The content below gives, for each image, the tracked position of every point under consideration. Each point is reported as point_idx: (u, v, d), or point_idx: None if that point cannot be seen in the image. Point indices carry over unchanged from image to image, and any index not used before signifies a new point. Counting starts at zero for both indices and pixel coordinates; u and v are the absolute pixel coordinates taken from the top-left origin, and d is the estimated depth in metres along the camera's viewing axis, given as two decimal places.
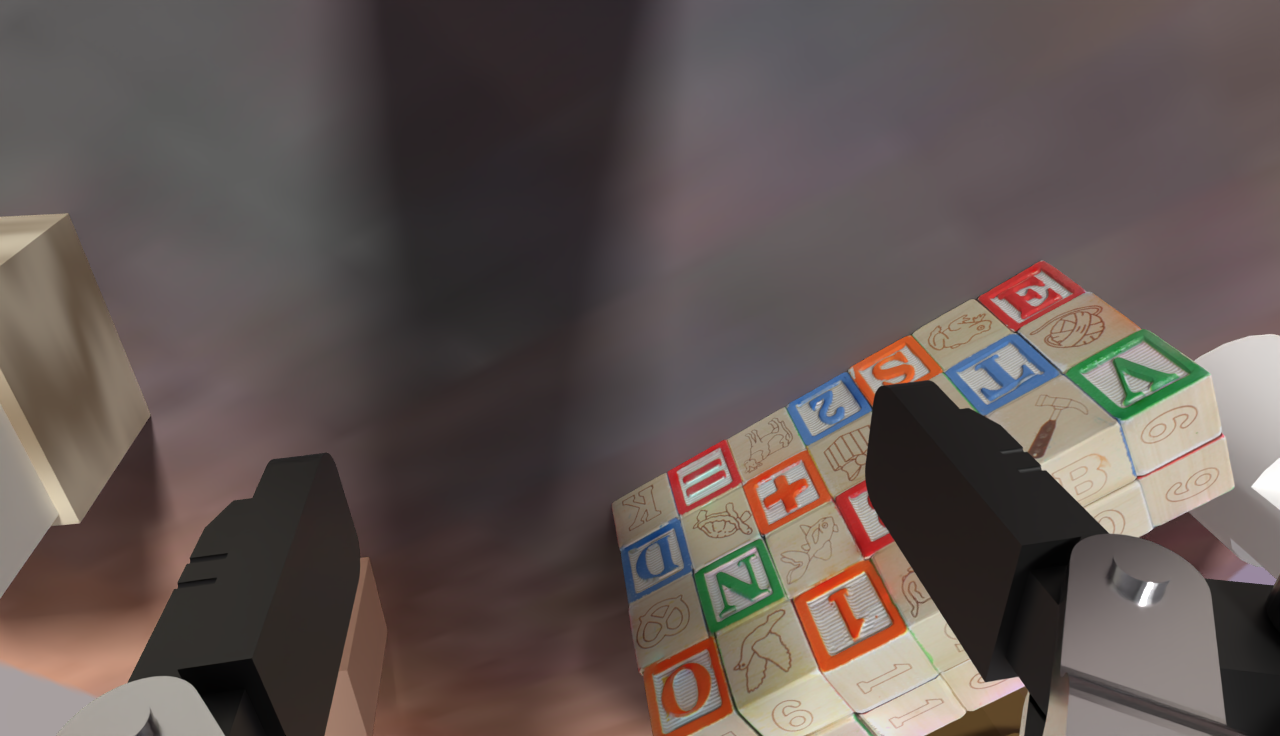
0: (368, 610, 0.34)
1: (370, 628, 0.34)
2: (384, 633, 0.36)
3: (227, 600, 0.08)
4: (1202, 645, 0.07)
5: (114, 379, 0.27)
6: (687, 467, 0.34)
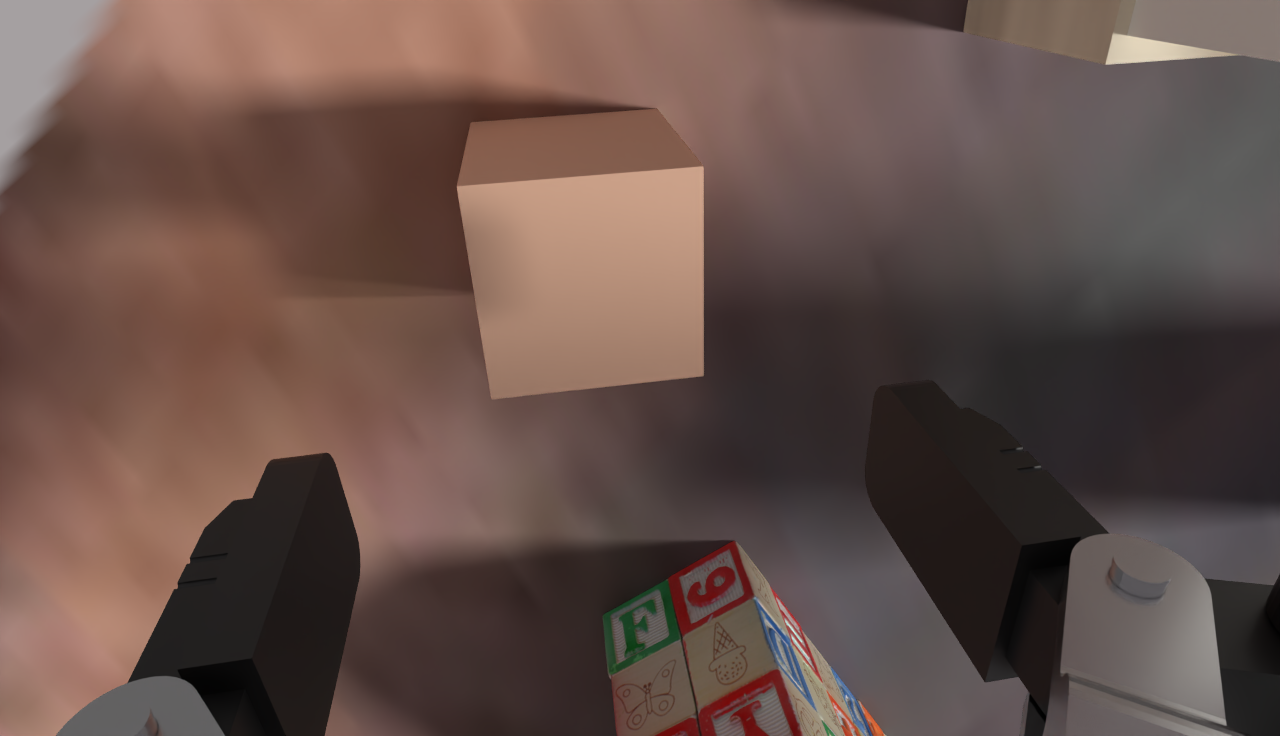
0: None
1: None
2: None
3: (227, 600, 0.08)
4: (1202, 645, 0.07)
5: None
6: (781, 605, 0.31)
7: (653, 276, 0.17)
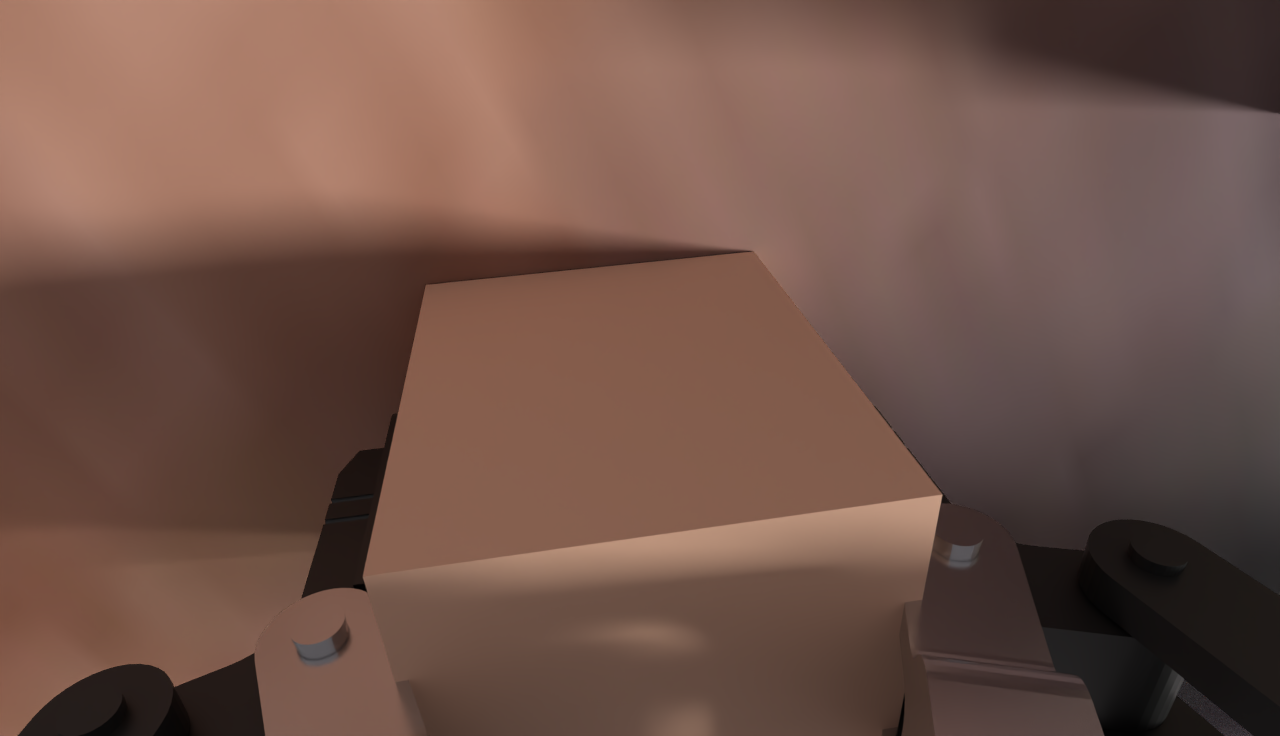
0: None
1: None
2: None
3: None
4: (997, 602, 0.07)
5: None
6: None
7: (804, 687, 0.08)
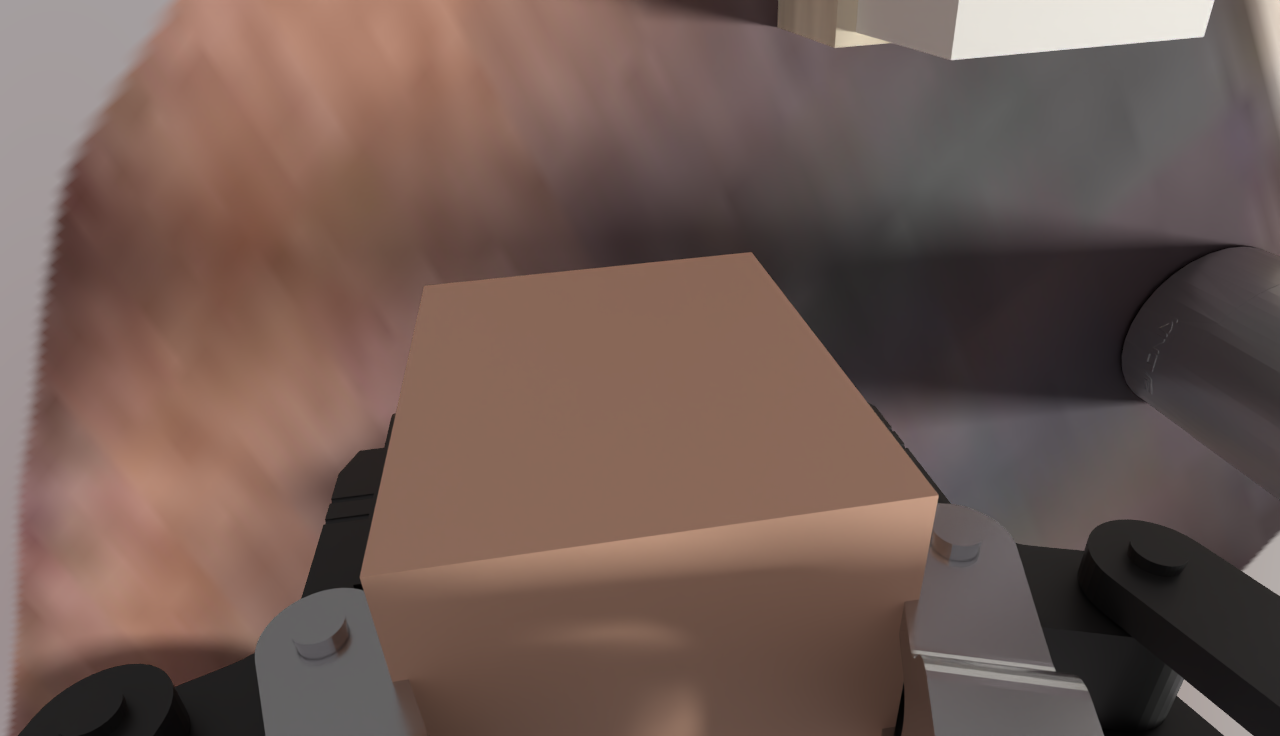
0: None
1: None
2: None
3: None
4: (996, 602, 0.07)
5: None
6: None
7: (801, 687, 0.08)
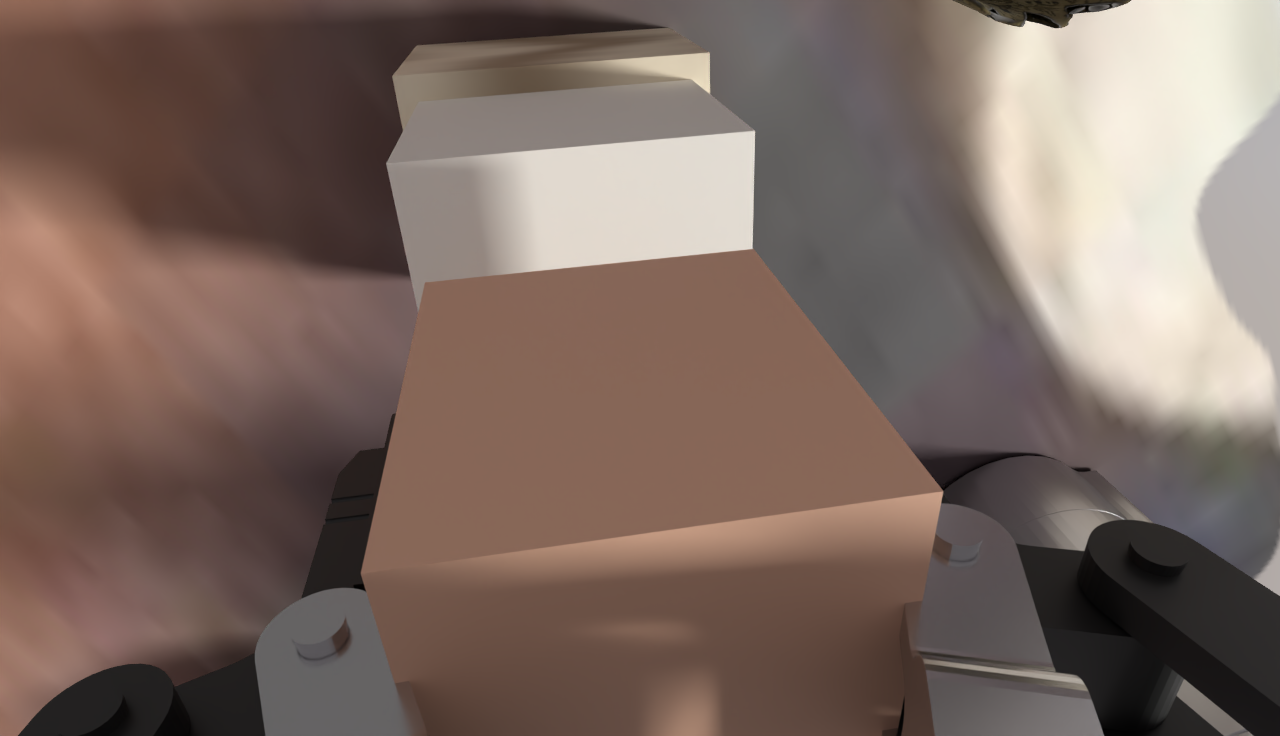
0: None
1: None
2: None
3: None
4: (996, 601, 0.07)
5: None
6: None
7: (805, 685, 0.08)
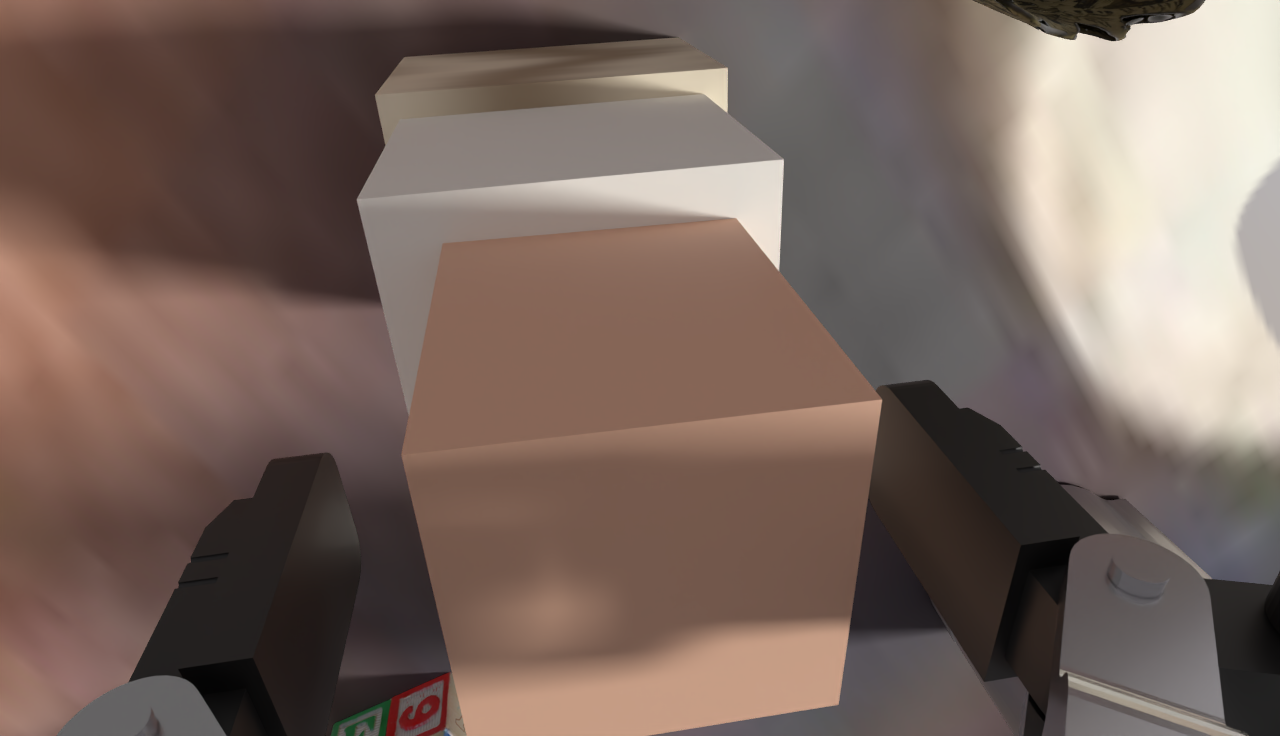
0: None
1: None
2: None
3: (228, 600, 0.08)
4: (1201, 645, 0.07)
5: None
6: None
7: (768, 573, 0.09)
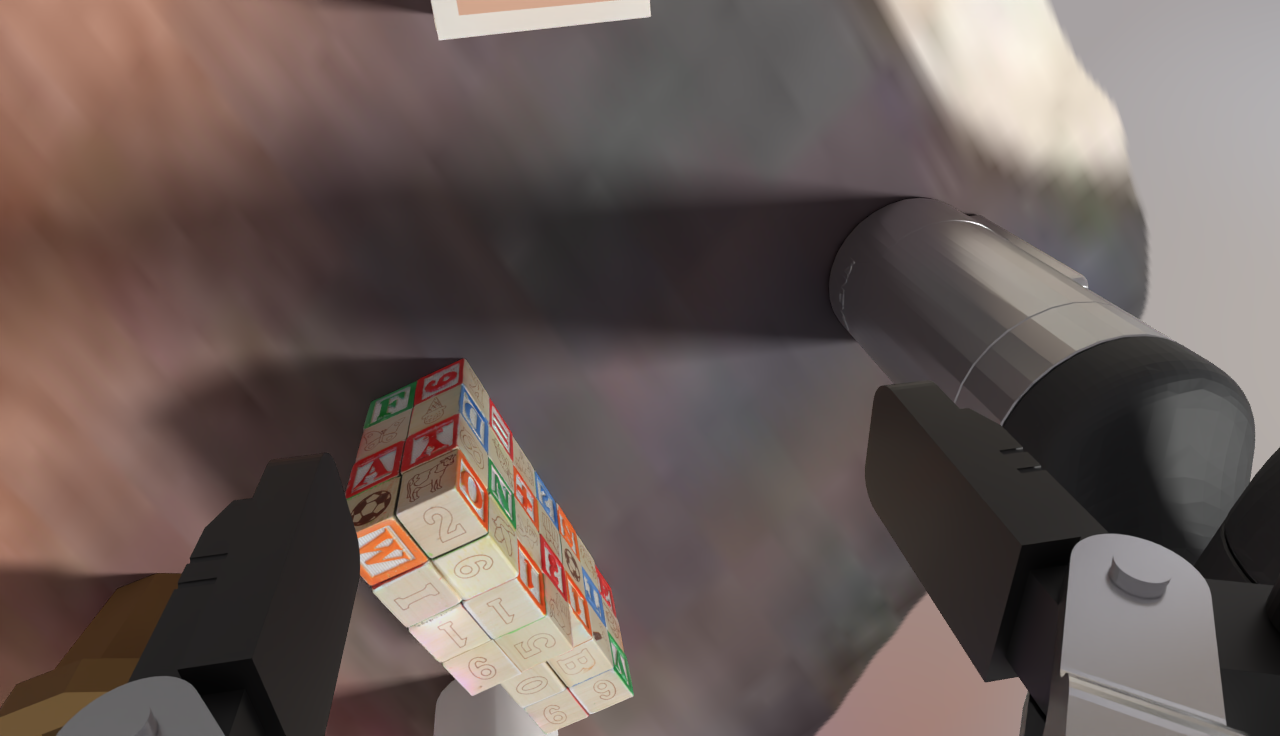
0: None
1: None
2: None
3: (227, 600, 0.08)
4: (1202, 645, 0.07)
5: None
6: (496, 413, 0.46)
7: None
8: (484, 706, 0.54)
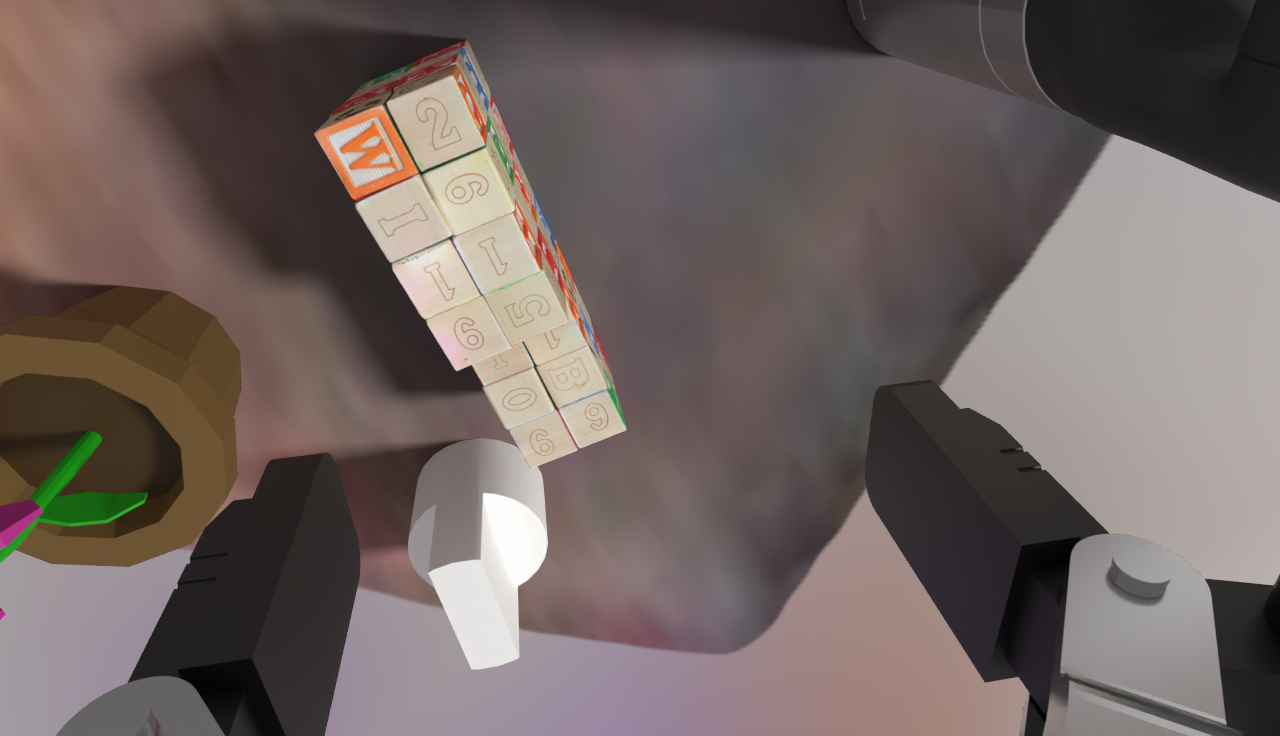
0: None
1: None
2: None
3: (227, 600, 0.08)
4: (1202, 645, 0.07)
5: None
6: (497, 112, 0.43)
7: None
8: (467, 468, 0.51)
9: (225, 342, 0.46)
